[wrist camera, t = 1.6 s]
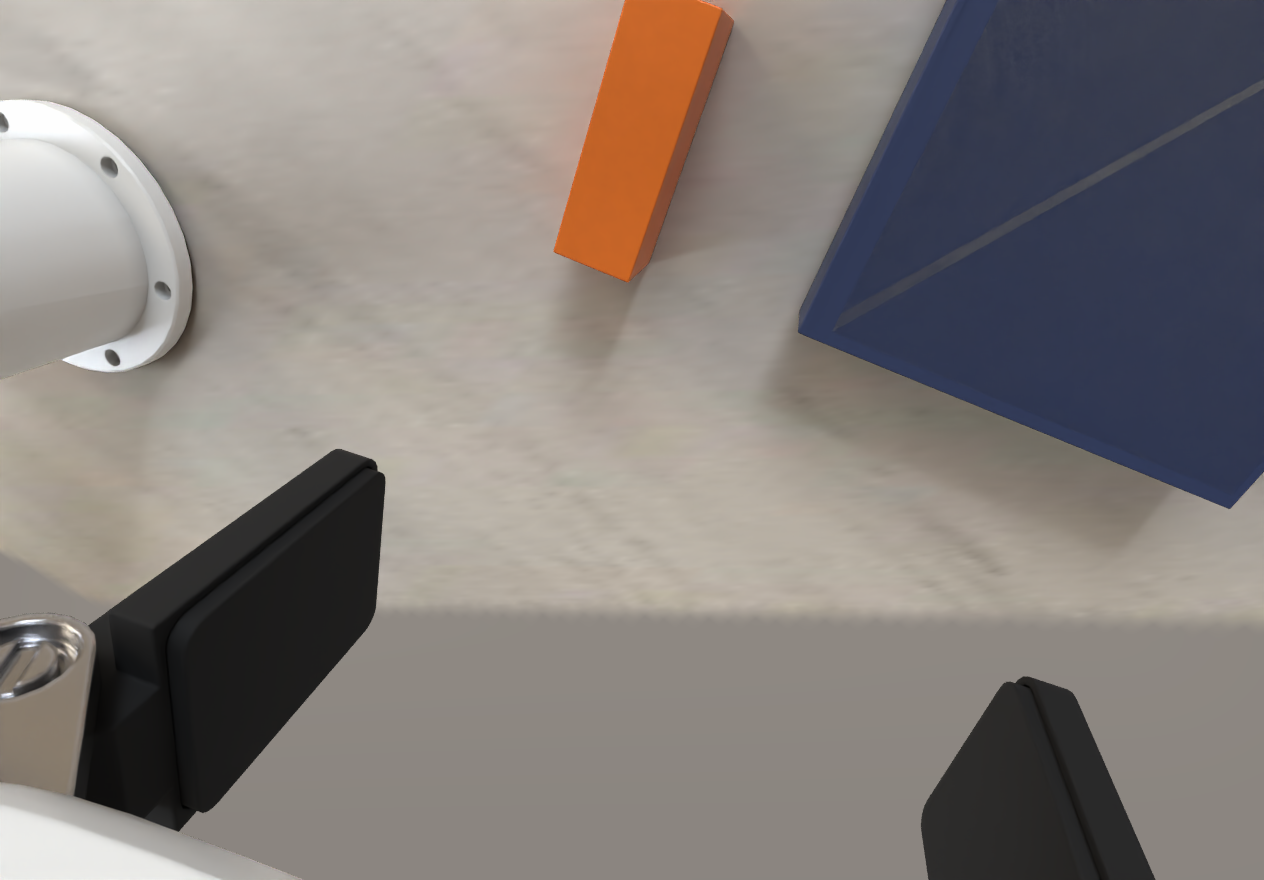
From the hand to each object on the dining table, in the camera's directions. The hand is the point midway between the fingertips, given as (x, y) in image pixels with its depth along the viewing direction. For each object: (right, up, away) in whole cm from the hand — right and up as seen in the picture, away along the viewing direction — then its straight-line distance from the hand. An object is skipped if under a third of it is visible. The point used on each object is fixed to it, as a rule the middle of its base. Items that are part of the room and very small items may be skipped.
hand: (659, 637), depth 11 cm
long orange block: (0, +14, +17) cm, 22 cm away
